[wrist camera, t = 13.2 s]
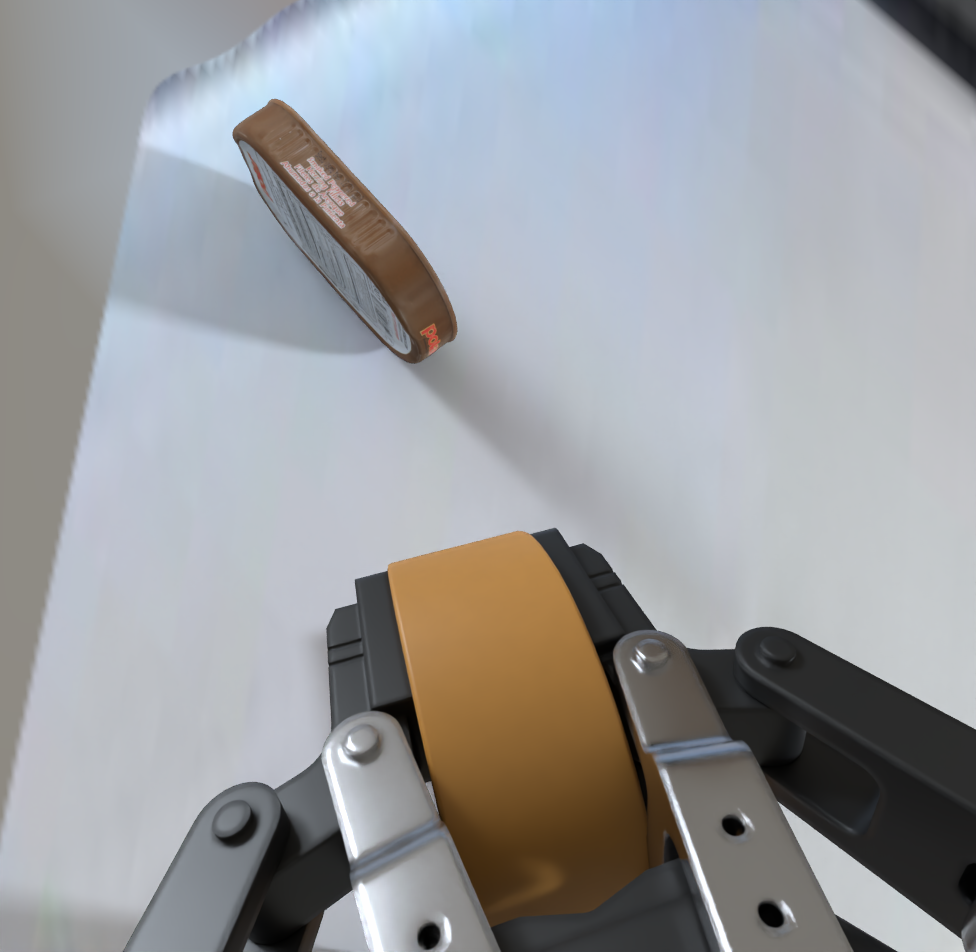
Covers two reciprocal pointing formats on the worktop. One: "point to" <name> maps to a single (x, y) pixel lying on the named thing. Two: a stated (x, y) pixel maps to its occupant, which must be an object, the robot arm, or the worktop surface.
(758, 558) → the worktop surface
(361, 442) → the worktop surface
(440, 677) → the tape roll
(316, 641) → the worktop surface
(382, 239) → the tin
